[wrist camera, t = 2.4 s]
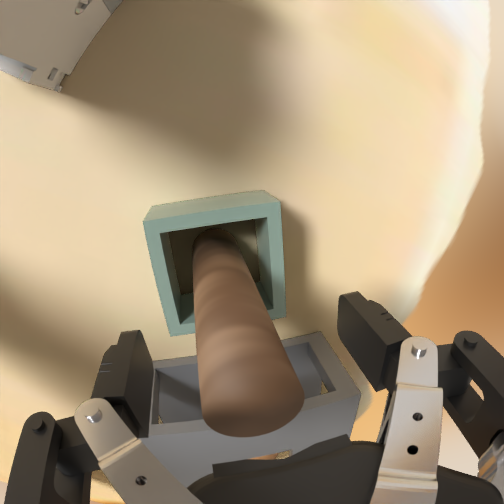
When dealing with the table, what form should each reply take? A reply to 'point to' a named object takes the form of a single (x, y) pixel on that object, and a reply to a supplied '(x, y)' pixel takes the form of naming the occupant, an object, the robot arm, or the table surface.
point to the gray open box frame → (235, 448)
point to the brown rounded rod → (238, 345)
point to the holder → (211, 213)
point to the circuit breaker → (48, 36)
